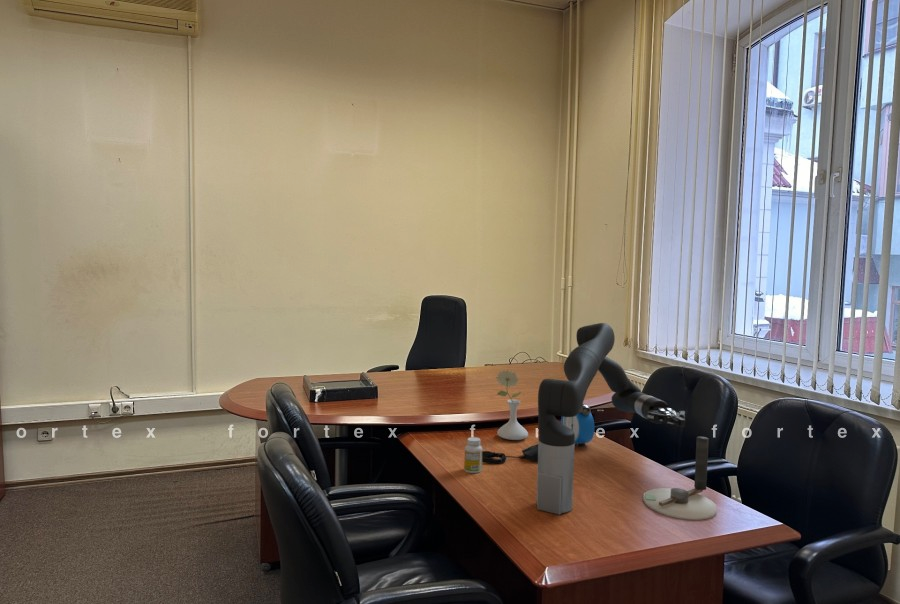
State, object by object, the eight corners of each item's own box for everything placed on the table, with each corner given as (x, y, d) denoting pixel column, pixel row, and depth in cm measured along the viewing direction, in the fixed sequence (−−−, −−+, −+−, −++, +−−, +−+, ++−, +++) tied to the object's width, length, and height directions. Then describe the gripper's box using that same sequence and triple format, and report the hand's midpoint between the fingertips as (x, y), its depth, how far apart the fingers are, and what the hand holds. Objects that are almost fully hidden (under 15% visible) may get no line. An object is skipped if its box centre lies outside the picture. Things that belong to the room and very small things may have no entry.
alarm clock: (560, 438, 206) (561, 398, 205) (574, 437, 208) (575, 397, 207) (579, 449, 194) (581, 406, 193) (594, 448, 196) (596, 405, 195)
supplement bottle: (471, 466, 175) (472, 435, 174) (485, 470, 171) (486, 439, 171) (460, 470, 170) (461, 439, 170) (474, 474, 167) (475, 442, 167)
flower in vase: (533, 437, 207) (535, 370, 206) (520, 444, 198) (522, 374, 196) (501, 431, 214) (503, 366, 213) (487, 438, 204) (489, 370, 203)
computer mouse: (570, 461, 182) (571, 445, 182) (475, 467, 175) (476, 450, 174) (558, 452, 191) (559, 436, 191) (467, 457, 184) (468, 441, 183)
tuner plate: (713, 526, 136) (713, 520, 136) (637, 509, 145) (637, 504, 145) (718, 500, 152) (719, 496, 152) (649, 486, 161) (649, 482, 161)
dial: (668, 510, 142) (670, 451, 141) (652, 504, 145) (655, 446, 144) (710, 493, 153) (713, 439, 152) (695, 488, 157) (698, 435, 156)
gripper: (632, 397, 179) (663, 411, 162) (670, 396, 181) (704, 410, 164) (632, 420, 179) (662, 436, 162) (669, 419, 182) (702, 435, 165)
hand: (683, 423), depth 163 cm, fingers closed
